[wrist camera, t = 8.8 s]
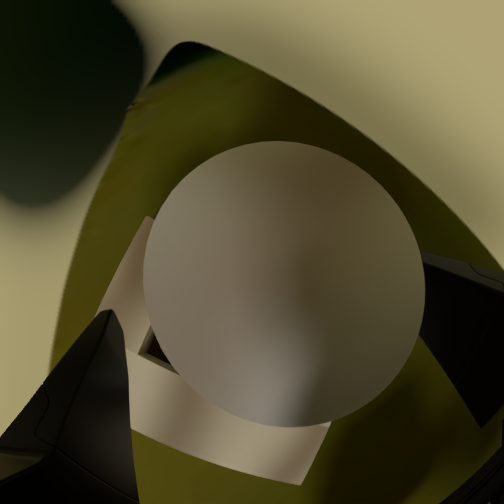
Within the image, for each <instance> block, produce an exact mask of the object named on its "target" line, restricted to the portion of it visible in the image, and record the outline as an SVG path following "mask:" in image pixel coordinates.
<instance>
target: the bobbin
mask: <svg viewBox="0 0 504 504" xmlns="http://www.w3.org/2000/svg"><path fill="white" fill-rule="evenodd" d="M143 288H144V296H145V304H146V309H147V312H148V316H149V320H150V323H151V326H152V329H153V331H154V334H155V336H156V338H157V340H158V343H159V345H160V347H161V349H162V351H163V352H164V354H165V355H166V357H167V358H168V360H169V362H170V363H171V365H172V366H173V368H174V369H175V370H176V371H177V372H178V374H179V375H180V376H181V377H182V378H183V379H184V380H185V381H186V383H187V384H188V385H189V386H190V387H192V388H193V389H194V390H195V391H196V392H197V393H199V394H200V395H201V396H202V397H203V398H205V399H206V400H207V401H209V402H211V403H212V404H214V405H215V406H217V407H219V408H220V409H222V410H224V411H225V412H228V413H230V414H232V415H235V416H237V417H239V418H242V419H244V420H247V421H251V422H255V423H259V424H263V425H267V426H277V427H307V426H313V425H318V424H323V423H327V422H330V421H333V420H336V419H339V418H341V417H344V416H347V415H349V414H350V413H352V412H354V411H356V410H358V409H360V408H361V407H363V406H365V405H366V404H367V403H369V402H370V401H371V400H373V399H374V398H375V397H377V396H378V395H379V394H380V393H381V392H382V391H383V390H384V389H385V388H386V387H387V386H388V385H389V384H390V383H391V382H392V381H393V380H394V378H395V377H396V376H397V374H398V373H399V372H400V371H401V369H402V368H403V366H404V364H405V363H406V361H407V359H408V357H409V356H410V354H411V352H412V349H413V347H414V345H415V342H416V340H417V337H418V334H419V330H420V327H421V323H422V318H423V312H424V305H425V279H424V270H423V264H422V259H421V255H420V251H419V248H418V245H417V242H416V239H415V237H414V234H413V232H412V230H411V227H410V225H409V223H408V221H407V220H406V218H405V216H404V214H403V213H402V211H401V209H400V208H399V207H398V205H397V204H396V203H395V201H394V200H393V198H392V197H391V196H390V195H389V194H388V193H387V191H386V190H385V189H384V188H383V187H382V186H381V185H380V184H379V183H378V182H377V181H376V180H375V179H373V178H372V177H371V176H370V175H369V174H368V173H366V172H365V171H364V170H362V169H361V168H359V167H358V166H357V165H355V164H354V163H352V162H350V161H348V160H347V159H345V158H343V157H341V156H339V155H337V154H334V153H332V152H330V151H327V150H325V149H321V148H318V147H315V146H312V145H307V144H302V143H296V142H285V141H268V142H258V143H252V144H246V145H242V146H239V147H236V148H232V149H229V150H227V151H225V152H222V153H220V154H218V155H216V156H214V157H212V158H210V159H209V160H207V161H205V162H204V163H202V164H201V165H199V166H198V167H196V168H195V169H194V170H193V171H192V172H190V173H189V174H188V175H187V176H186V177H184V179H183V180H182V181H181V182H180V183H179V184H178V185H177V186H176V187H175V188H174V189H173V191H172V192H171V193H170V195H169V196H168V198H167V199H166V201H165V202H164V204H163V205H162V207H161V209H160V211H159V213H158V215H157V217H156V219H155V221H154V223H153V226H152V229H151V232H150V235H149V238H148V241H147V245H146V251H145V257H144V263H143Z"/></svg>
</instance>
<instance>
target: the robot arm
mask: <svg viewBox="0 0 504 504" xmlns="http://www.w3.org/2000/svg"><path fill="white" fill-rule="evenodd" d="M420 255H421V259H422V264H423V270H424V279H425V305H424V312H423V318H422V323H421V327H420V330H419V336H420V337H421V339H422V340H423V341H424V343H425V344H426V345H427V347H428V348H429V350H430V351H431V352H432V354H433V355H434V357H435V358H436V360H437V361H438V362H439V364H440V365H441V367H442V368H443V370H444V371H445V373H446V374H447V376H448V377H449V379H450V380H451V382H452V383H453V385H454V387H455V388H456V390H457V391H458V393H459V394H460V396H461V397H462V399H463V401H464V402H465V404H466V405H467V407H468V409H469V410H470V412H471V414H472V415H473V417H474V419H475V420H476V422H477V424H478V425H479V427H480V428H483V427H484V426H485V425H486V424H487V423H488V422H489V421H490V420H491V419H492V418H493V417H494V416H495V415H496V413H497V412H498V411H499V410H500V409H501V408H502V407H503V406H504V272H501V271H496V270H492V269H488V268H484V267H480V266H477V265H473V264H468V263H465V262H462V261H458V260H454V259H450V258H446V257H443V256H439V255H435V254H431V253H427V252H423V251H420ZM489 501H490V503H491V504H504V419H503V420H502V446H501V447H500V448H499V449H498V450H497V451H496V453H495V454H494V455H493V456H492V457H491V458H490V459H489V460H488V461H487V462H486V463H485V464H484V465H483V466H482V467H481V468H480V469H479V470H478V471H477V472H476V473H475V474H474V475H472V476H471V477H470V478H469V479H468V480H467V481H466V482H465V483H464V484H462V485H461V486H460V487H459V488H458V489H457V490H455V491H454V492H453V493H452V494H451V495H449V496H448V497H447V498H446V499H444V500H443V501H442V502H441V503H439V504H487V503H488V502H489ZM138 502H139V497H138V490H137V483H136V476H135V468H134V459H133V449H132V438H131V424H130V404H129V376H128V367H127V359H126V350H125V339H124V333H123V329H122V327H121V325H120V323H119V320H118V318H117V316H116V314H115V312H114V310H112V309H108V310H103V311H100V312H99V313H98V315H97V316H96V317H95V318H94V319H93V320H92V322H91V323H90V324H89V325H88V326H87V328H86V329H85V330H84V331H83V332H82V334H81V335H80V336H79V337H78V338H77V340H76V341H75V342H74V343H73V345H72V346H71V347H70V348H69V350H68V351H67V352H66V353H65V355H64V356H63V357H62V358H61V360H60V361H59V362H58V364H57V365H56V366H55V367H54V369H53V370H52V371H51V373H50V374H49V375H48V377H47V378H46V379H45V381H44V382H43V384H42V385H41V386H40V387H39V389H38V390H37V391H36V393H35V394H34V395H33V397H32V398H31V399H30V401H29V402H28V404H27V405H26V406H25V407H24V408H23V410H22V411H21V412H20V413H19V415H18V416H17V417H16V418H15V419H14V421H13V422H12V423H11V424H10V426H9V427H8V428H7V429H6V431H5V432H4V433H3V434H2V435H1V437H0V504H140V503H138Z"/></svg>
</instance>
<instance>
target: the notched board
mask: <svg viewBox="0 0 504 504" xmlns="http://www.w3.org/2000/svg"><path fill="white" fill-rule="evenodd" d="M154 221H155V219H152V218H150V217H148V216H146V217H145V219H144V221H143V223H142V224H141V226H140V228H139V230H138V231H137V233H136V235H135V237H134V239H133V241H132V242H131V244H130V246H129V248H128V250H127V252H126V254H125V255H124V257H123V259H122V261H121V263H120V265H119V267H118V269H117V271H116V273H115V275H114V277H113V279H112V281H111V283H110V285H109V287H108V289H107V291H106V294H105V296H104V298H103V300H102V302H101V304H100V306H99V309H98V311H97V313H96V315H95V317H96V316H97V315H98V313H99V312H100V311H103V310H108V309H112V310H114V312H115V314H116V316H117V318H118V320H119V323H120V325H121V327H122V329H123V333H124V339H125V350H126V359H127V367H128V376H129V404H130V424H131V429H133V430H135V431H137V432H139V433H141V434H144V435H146V436H148V437H150V438H152V439H154V440H156V441H159V442H161V443H163V444H165V445H168V446H170V447H172V448H175V449H177V450H180V451H182V452H185V453H187V454H190V455H192V456H195V457H198V458H200V459H203V460H206V461H209V462H212V463H215V464H218V465H221V466H224V467H227V468H230V469H234V470H237V471H241V472H244V473H248V474H251V475H255V476H259V477H263V478H267V479H272V480H276V481H281V482H286V483H291V484H296V485H301V483H302V482H303V480H304V478H305V476H306V474H307V472H308V470H309V468H310V466H311V464H312V462H313V460H314V458H315V456H316V454H317V452H318V450H319V448H320V446H321V444H322V442H323V439H324V437H325V435H326V433H327V431H328V428H329V426H330V424H331V421H330V422H327V423H323V424H318V425H313V426H307V427H277V426H267V425H263V424H259V423H255V422H251V421H247V420H244V419H242V418H239V417H237V416H235V415H232V414H230V413H228V412H225V411H224V410H222V409H220V408H219V407H217V406H215V405H214V404H212V403H211V402H209V401H207V400H206V399H205V398H203V397H202V396H201V395H200V394H199V393H197V392H196V391H195V390H194V389H193V388H192V387H190V386H189V385H188V384H187V383H186V381H185V380H184V379H183V378H182V377H181V376H180V375H179V374H178V372H177V371H176V370H175V369H174V368H173V366H172V365H170V364H168V363H166V362H164V361H162V360H160V359H158V358H156V357H154V356H152V355H150V354H148V353H147V352H148V350H149V348H150V345H151V343H152V341H153V338H154V336H155V334H154V331H153V329H152V326H151V323H150V320H149V316H148V312H147V309H146V304H145V296H144V288H143V263H144V257H145V251H146V245H147V241H148V238H149V235H150V232H151V229H152V226H153V223H154Z"/></svg>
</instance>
